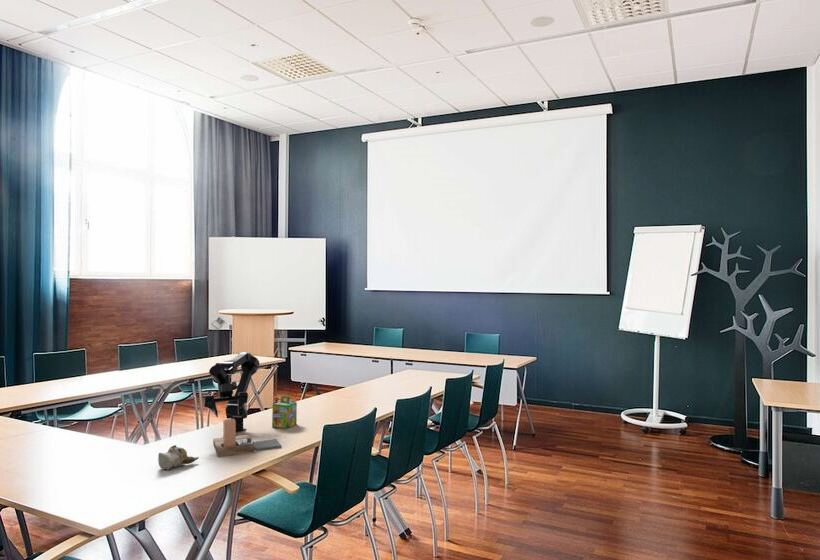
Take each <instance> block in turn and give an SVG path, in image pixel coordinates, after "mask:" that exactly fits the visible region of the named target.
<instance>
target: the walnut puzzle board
mask: <svg viewBox="0 0 820 560" xmlns="http://www.w3.org/2000/svg"><path fill="white" fill-rule="evenodd" d="M247 438H250V436H249V435H248V434H243V435H242V434H241V435H236V440H241V439H247ZM212 444H213V447H214V451H215V453H216V455H217V457H219V458H220V457H226V456H227V457H228V456H235V455H242V454H243V455H244V454H249V453H255V452H256V451H255V446H254V444H250V445H242V446H238V444H237V442H236V446H232V447H224V442H223V437H217V438H216V437H215V438H213V439H212Z"/></svg>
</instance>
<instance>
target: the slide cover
mask: <svg viewBox="0 0 820 560" xmlns="http://www.w3.org/2000/svg"><path fill="white" fill-rule="evenodd" d="M252 440H253V439H252V438H251V437H249V438H247V439H241V440H236V442H237V444H238V446H242V445H250V444H253V442H254V441H252Z"/></svg>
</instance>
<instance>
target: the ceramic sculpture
mask: <svg viewBox="0 0 820 560" xmlns="http://www.w3.org/2000/svg"><path fill="white" fill-rule="evenodd" d="M157 456H158V458H157V459H158V466H159V467H160V469H161V470H163V469H166V470H165V471H169V470H170V469H171V468H172V466H177V467H180V466H179V465H181V466H182V465H189V464H192V463H194V462H195V461H197V460H198V459H199V456H198V457H194V456H192V455H191V456H188V453H187V450H186V449H185V448H183V447H180V446H177V445H175V444H174V445H171V446H170V447H169V448H168V451H165V452H159V453H158V455H157Z"/></svg>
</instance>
